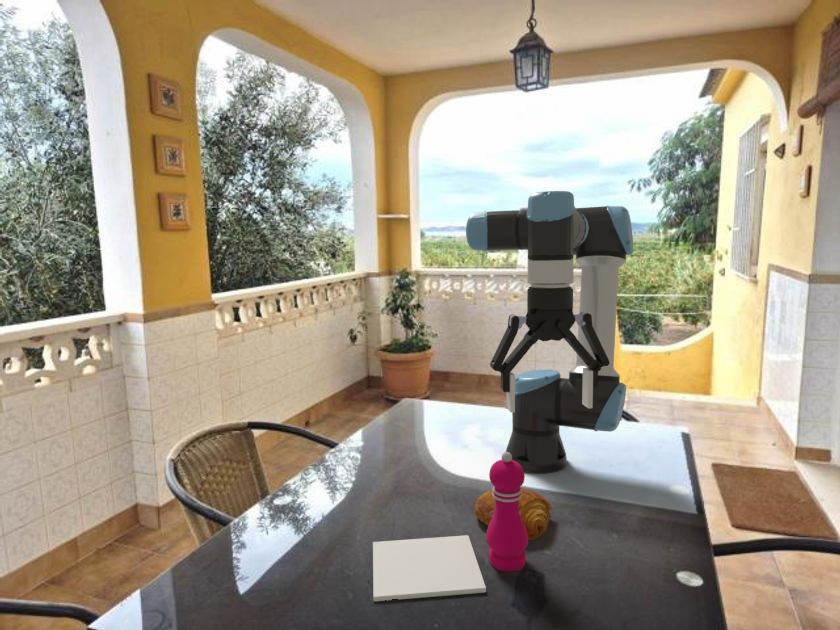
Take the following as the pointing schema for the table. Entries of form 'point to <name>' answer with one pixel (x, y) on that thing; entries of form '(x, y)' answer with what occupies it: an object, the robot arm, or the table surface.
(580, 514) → the table surface
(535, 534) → the croissant
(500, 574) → the table surface
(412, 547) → the white mat
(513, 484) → the pepper mill
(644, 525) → the table surface
